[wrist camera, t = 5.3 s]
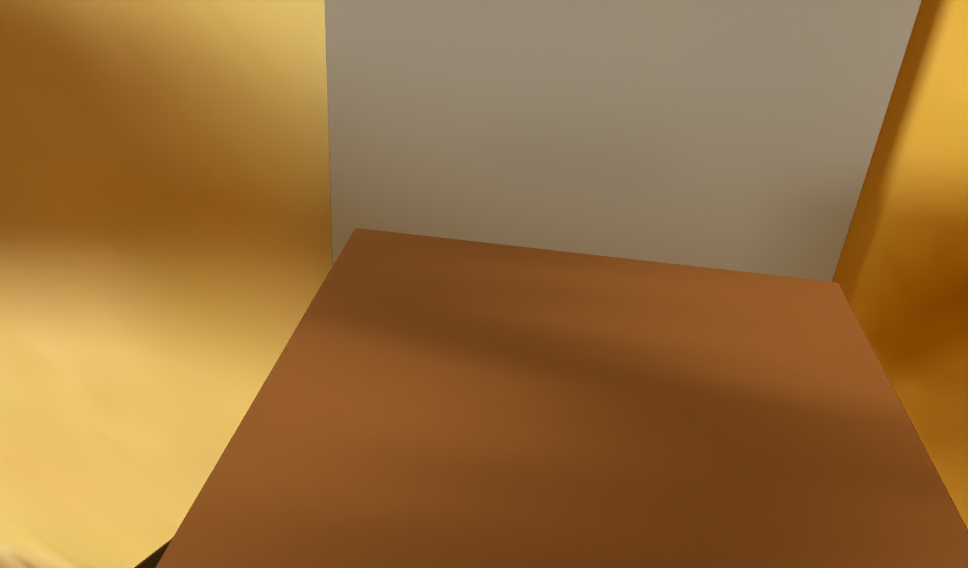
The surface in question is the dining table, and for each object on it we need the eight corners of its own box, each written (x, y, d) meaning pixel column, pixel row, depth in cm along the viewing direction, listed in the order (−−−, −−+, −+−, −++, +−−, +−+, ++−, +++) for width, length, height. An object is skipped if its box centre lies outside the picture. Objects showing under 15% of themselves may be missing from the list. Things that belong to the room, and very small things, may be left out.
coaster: (343, 366, 19) (336, 381, 19) (331, -103, 14) (322, -100, 14) (777, 421, 19) (781, 439, 18) (923, -53, 14) (936, -48, 13)
